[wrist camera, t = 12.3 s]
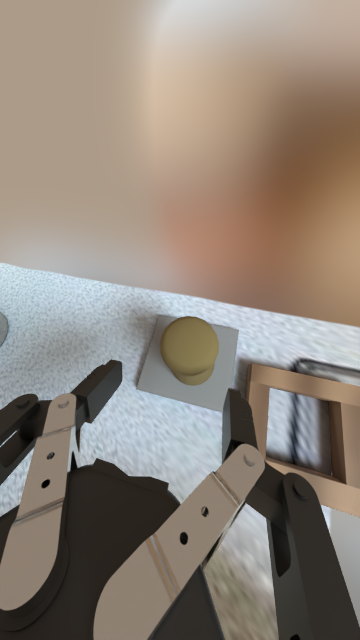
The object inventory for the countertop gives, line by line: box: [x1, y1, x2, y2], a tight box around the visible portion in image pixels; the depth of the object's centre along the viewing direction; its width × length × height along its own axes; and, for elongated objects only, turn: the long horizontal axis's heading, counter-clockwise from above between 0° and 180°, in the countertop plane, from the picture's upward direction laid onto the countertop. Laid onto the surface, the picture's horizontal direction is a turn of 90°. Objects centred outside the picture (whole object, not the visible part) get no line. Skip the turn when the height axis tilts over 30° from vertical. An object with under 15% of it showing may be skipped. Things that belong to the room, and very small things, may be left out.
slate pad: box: [136, 315, 239, 413], centre depth 25 cm, size 12×11×1 cm
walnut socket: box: [245, 363, 360, 517], centre depth 20 cm, size 12×12×2 cm
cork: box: [160, 316, 219, 386], centre depth 19 cm, size 6×6×11 cm
